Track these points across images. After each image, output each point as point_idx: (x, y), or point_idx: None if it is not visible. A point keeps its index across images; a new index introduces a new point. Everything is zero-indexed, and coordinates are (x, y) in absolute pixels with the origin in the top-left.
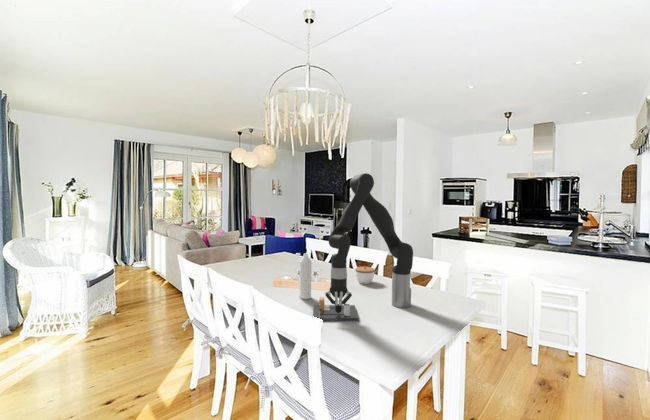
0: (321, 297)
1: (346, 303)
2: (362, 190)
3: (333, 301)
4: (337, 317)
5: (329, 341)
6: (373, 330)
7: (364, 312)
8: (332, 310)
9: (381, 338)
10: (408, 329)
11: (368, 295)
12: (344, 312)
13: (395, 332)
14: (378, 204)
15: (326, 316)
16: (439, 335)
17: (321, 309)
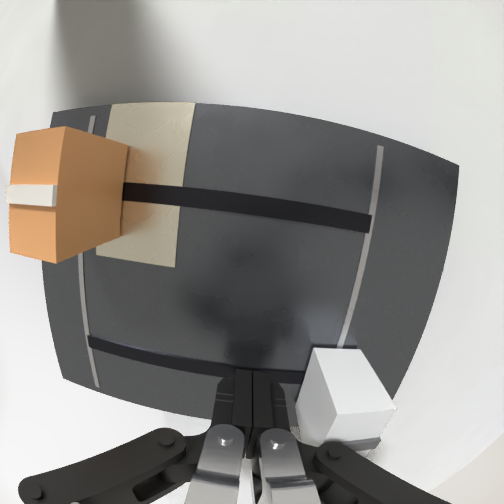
0: (33, 139)
1: (364, 418)
2: None
3: (174, 488)
4: None
5: (177, 500)
6: (380, 465)
7: (470, 271)
8: (205, 275)
9: None
10: (480, 427)
11: (498, 19)
12: (299, 424)
13: (436, 456)
14: None
15: (143, 388)
16: (499, 434)
17: None
